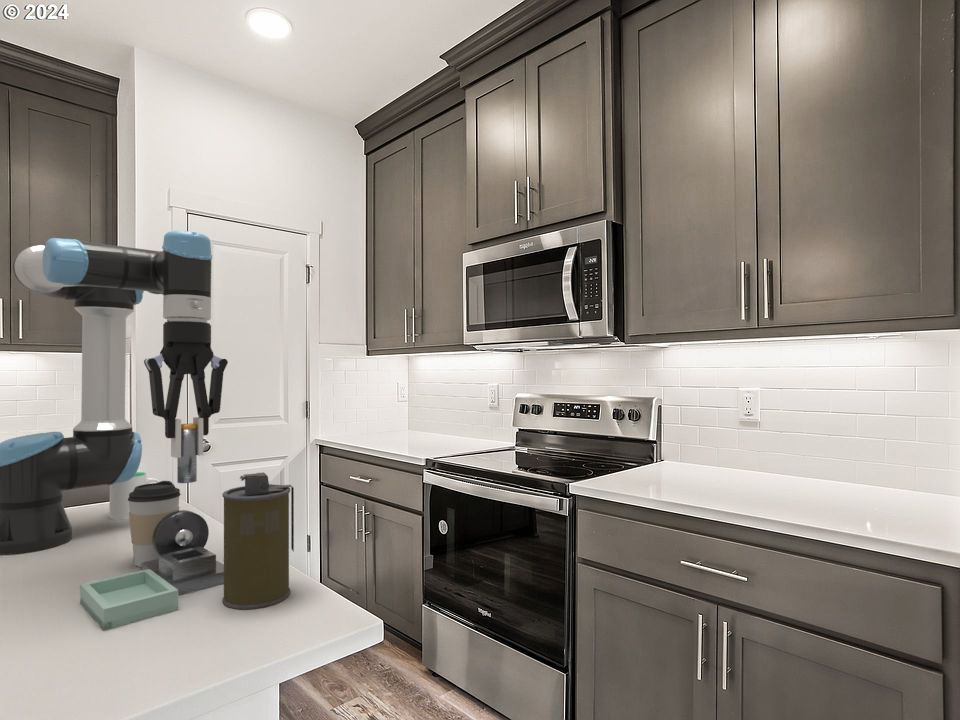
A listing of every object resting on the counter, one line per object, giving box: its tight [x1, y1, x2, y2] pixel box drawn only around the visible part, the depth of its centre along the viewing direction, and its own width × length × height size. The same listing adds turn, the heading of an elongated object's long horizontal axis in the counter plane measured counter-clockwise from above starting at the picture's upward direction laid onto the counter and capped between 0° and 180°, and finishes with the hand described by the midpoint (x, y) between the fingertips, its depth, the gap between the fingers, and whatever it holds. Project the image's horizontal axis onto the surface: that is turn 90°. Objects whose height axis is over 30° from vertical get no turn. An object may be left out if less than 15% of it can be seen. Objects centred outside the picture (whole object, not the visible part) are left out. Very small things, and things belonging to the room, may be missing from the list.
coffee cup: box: [128, 480, 182, 568], centre depth 114 cm, size 9×9×15 cm
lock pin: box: [176, 422, 198, 484], centre depth 102 cm, size 3×3×10 cm
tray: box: [79, 569, 179, 631], centre depth 92 cm, size 14×10×3 cm
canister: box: [221, 472, 295, 610], centre depth 96 cm, size 11×10×20 cm
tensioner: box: [140, 509, 224, 596], centre depth 105 cm, size 16×10×11 cm, turn 46°
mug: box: [109, 471, 161, 521], centre depth 151 cm, size 12×8×10 cm, turn 135°
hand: (187, 455), depth 102 cm, fingers closed on lock pin, 3 cm apart
